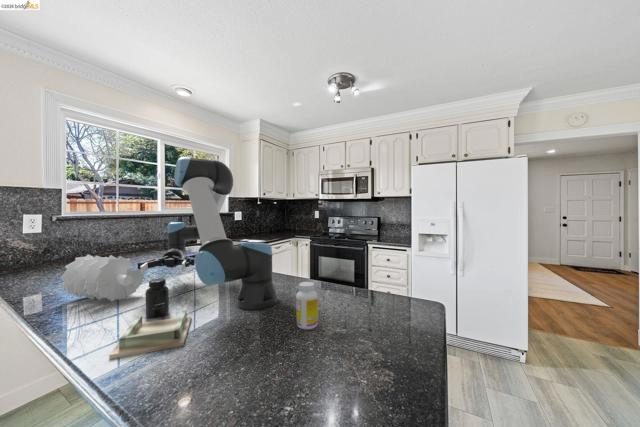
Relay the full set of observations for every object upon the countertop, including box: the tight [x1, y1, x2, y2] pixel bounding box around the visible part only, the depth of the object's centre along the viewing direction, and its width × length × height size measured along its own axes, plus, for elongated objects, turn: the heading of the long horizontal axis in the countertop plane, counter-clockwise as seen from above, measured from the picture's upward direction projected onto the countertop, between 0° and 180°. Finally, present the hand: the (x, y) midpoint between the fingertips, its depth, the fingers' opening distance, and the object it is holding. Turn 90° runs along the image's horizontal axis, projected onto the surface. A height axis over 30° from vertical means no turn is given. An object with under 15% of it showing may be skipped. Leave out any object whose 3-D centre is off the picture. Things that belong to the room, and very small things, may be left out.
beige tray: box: [108, 309, 192, 360], centre depth 73 cm, size 18×16×4 cm
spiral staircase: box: [60, 254, 146, 302], centre depth 105 cm, size 18×18×25 cm
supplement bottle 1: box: [145, 277, 170, 319], centre depth 88 cm, size 7×7×12 cm
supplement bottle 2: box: [295, 281, 319, 330], centre depth 79 cm, size 7×7×13 cm
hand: (162, 268), depth 97 cm, fingers open, 13 cm apart
